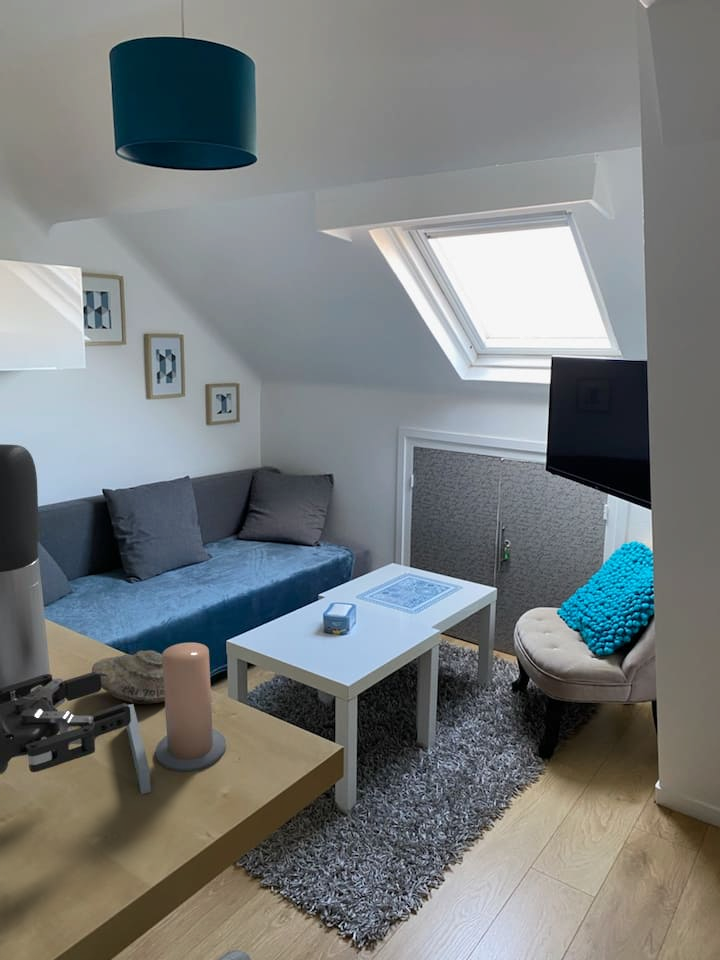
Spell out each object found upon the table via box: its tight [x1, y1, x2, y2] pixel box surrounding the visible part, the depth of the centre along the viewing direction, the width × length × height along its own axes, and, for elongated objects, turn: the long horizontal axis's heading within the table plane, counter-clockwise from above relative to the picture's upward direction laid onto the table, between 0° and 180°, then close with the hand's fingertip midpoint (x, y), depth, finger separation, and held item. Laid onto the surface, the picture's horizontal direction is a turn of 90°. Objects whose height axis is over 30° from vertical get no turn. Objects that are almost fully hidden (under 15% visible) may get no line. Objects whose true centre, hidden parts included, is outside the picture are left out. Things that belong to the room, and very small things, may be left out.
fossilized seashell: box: [91, 649, 165, 705], centre depth 99 cm, size 11×11×7 cm
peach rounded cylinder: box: [161, 642, 213, 760], centre depth 85 cm, size 5×5×12 cm
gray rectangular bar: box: [125, 703, 152, 795], centre depth 85 cm, size 14×1×3 cm, turn 24°
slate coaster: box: [155, 728, 227, 772], centre depth 87 cm, size 8×8×1 cm
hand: (113, 696), depth 79 cm, fingers open, 8 cm apart
